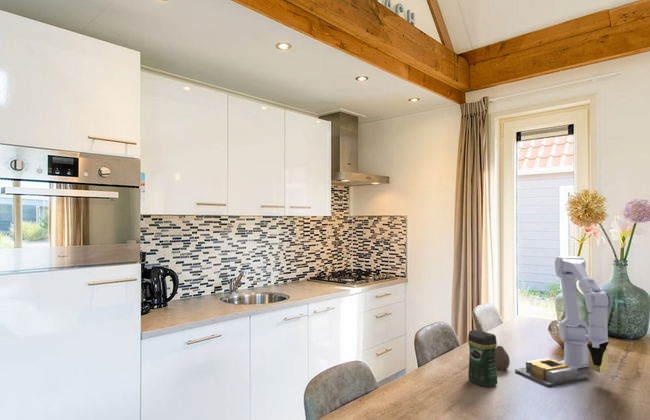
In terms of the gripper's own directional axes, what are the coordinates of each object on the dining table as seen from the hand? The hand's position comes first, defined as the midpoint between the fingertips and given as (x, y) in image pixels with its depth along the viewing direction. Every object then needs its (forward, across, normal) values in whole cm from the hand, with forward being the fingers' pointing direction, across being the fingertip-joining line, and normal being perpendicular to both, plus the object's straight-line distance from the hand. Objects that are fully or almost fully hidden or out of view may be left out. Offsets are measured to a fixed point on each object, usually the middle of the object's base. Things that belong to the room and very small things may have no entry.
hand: (598, 362), depth 144 cm
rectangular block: (+2, 0, 0) cm, 2 cm away
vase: (+8, +7, -32) cm, 34 cm away
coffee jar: (+8, +25, -33) cm, 42 cm away
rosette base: (+8, +2, -15) cm, 17 cm away
